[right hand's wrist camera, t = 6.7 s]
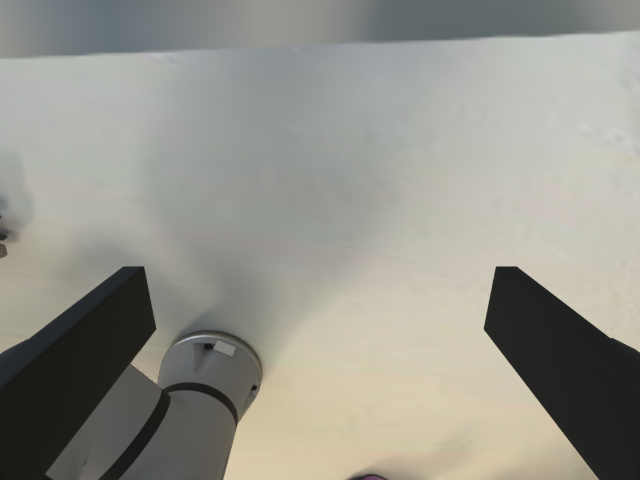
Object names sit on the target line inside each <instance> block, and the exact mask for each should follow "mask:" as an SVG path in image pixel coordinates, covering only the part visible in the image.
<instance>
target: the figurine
mask: <svg viewBox="0 0 640 480" xmlns="http://www.w3.org/2000/svg"><path fill="white" fill-rule="evenodd" d="M360 480H384V479H382V478H379V477H377V476H368V477H365V478H363V479H360Z"/></svg>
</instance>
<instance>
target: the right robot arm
mask: <svg viewBox="0 0 640 480" xmlns="http://www.w3.org/2000/svg"><path fill="white" fill-rule="evenodd" d="M155 330H156V325H155V320H154V315H153V310H152V305H151V300H150V295H149V289H148V284H147V279H146V274H145V269H144V267H122V268H121V269H120V270H118V271H117V272H116V273H114V274H113V275H112V276H110V277H109V278H108V279H106V280H105V281H104V282H103V283H101V284H100V285H99V286H97V287H96V288H95V289H93V290H92V291H91V292H89V293H88V294H87V295H86V296H84V297H83V298H82V299H80V300H79V301H78V302H76V303H75V304H74V305H73V306H71V307H70V308H69V309H67V310H66V311H65V312H63V313H62V314H61V315H59V316H58V317H57V318H56V319H54V320H53V321H52V322H50V323H49V324H48V325H46V326H45V327H44V328H42V329H41V330H40V331H39V332H37V333H36V334H35V335H33V336H32V337H31V338H29V339H27V340H25V341H23V342H21V343H19V344H17V345H15V346H13V347H11V348H10V349H8V350H6V351H4V352H3V353H1V354H0V480H223V478H224V474H225V471H226V467H227V463H228V459H229V455H230V451H231V448H232V444H233V440H234V436H235V432H236V428H237V425H238V422H239V421H240V420H241V418H242V417H243V415H244V414H245V412H246V411H247V410H248V408H249V407H250V405H251V404H252V402H253V401H254V399H255V398H256V396H257V394H258V391H259V388H260V383H261V378H262V369H261V365H260V362H259V360H258V358H257V356H256V354H255V353H254V352H253V350H252V349H251V348H250V347H249V346H248V345H247V344H245V343H244V342H243V341H241V340H240V339H238V338H236V337H234V336H232V335H229V334H226V333H222V332H217V331H198V332H194V333H190V334H188V335H185V336H183V337H181V338H180V339H178V340H177V341H176V342H175V343H174V344H173V345H172V346H171V347H170V349H169V350H168V352H167V353H166V355H165V357H164V358H163V361H162V364H161V367H160V371H159V378H158V383H157V384H156V383H154V382H153V381H152V380H150V379H149V378H148V377H147V376H145V375H144V374H143V373H142V372H140V371H139V370H138V369H136V368H135V367H134V366H133V365H132V364H130V363H131V362H132V360H133V359H134V358H135V356H136V355H137V354H138V352H139V351H140V350H141V349H142V347H143V346H144V345H145V343H146V342H147V341H148V339H149V338H150V337H151V335H152V334H153V333H154V332H155ZM484 330H485V332H486V333H487V334H488V335H489V337H490V338H491V339H492V341H493V342H494V343H495V345H496V346H497V347H498V349H499V350H500V351H501V352H502V354H503V355H504V356H505V358H506V359H507V360H508V362H509V363H510V364H511V365H512V367H513V368H514V369H515V371H516V372H517V373H518V375H519V376H520V377H521V378H522V380H523V381H524V382H525V384H526V385H527V386H528V388H529V389H530V390H531V392H532V393H533V394H534V395H535V397H536V398H537V399H538V401H539V402H540V403H541V405H542V406H543V407H544V408H545V410H546V411H547V412H548V414H549V415H550V416H551V418H552V419H553V420H554V421H555V423H556V424H557V425H558V427H559V428H560V429H561V431H562V432H563V433H564V435H565V436H566V437H567V438H568V440H569V441H570V442H571V444H572V445H573V446H574V448H575V449H576V450H577V451H578V453H579V454H580V455H581V457H582V458H583V459H584V461H585V462H586V463H587V464H588V466H589V467H590V468H591V470H592V471H593V472H594V474H595V475H596V476H597V478H598V479H599V480H640V352H638V351H637V350H635V349H633V348H631V347H629V346H627V345H626V344H624V343H622V342H620V341H618V340H616V339H614V338H609V337H608V336H607V335H605V334H604V333H603V332H601V331H600V330H599V329H598V328H596V327H595V326H594V325H592V324H591V323H590V322H588V321H587V320H586V319H584V318H583V317H582V316H581V315H579V314H578V313H577V312H575V311H574V310H573V309H571V308H570V307H569V306H567V305H566V304H565V303H564V302H562V301H561V300H560V299H558V298H557V297H556V296H554V295H553V294H552V293H551V292H549V291H548V290H547V289H545V288H544V287H543V286H541V285H540V284H539V283H537V282H536V281H535V280H534V279H532V278H531V277H530V276H528V275H527V274H526V273H524V272H523V271H522V270H520V269H519V268H518V267H496V269H495V274H494V279H493V284H492V289H491V295H490V300H489V305H488V310H487V315H486V320H485V325H484Z"/></svg>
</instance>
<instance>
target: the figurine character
mask: <svg viewBox="0 0 640 480" xmlns="http://www.w3.org/2000/svg"><path fill="white" fill-rule="evenodd" d="M0 218H1V217H0ZM6 238H7V236H5V235H4V234H0V240H5V239H6ZM6 255H7V250H6V247H5V245H4V244H0V258H2V257H5V256H6Z"/></svg>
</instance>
